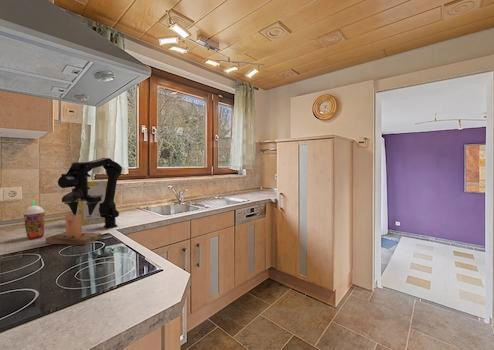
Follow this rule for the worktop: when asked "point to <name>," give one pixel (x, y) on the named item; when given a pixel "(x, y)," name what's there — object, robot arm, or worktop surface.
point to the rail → (74, 239)
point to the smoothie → (34, 221)
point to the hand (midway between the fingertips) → (82, 215)
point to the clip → (73, 226)
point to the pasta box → (96, 190)
